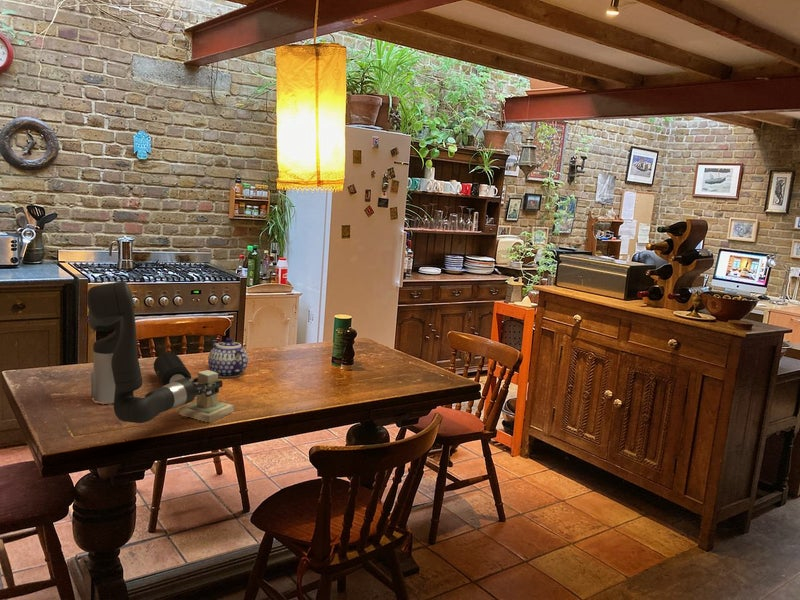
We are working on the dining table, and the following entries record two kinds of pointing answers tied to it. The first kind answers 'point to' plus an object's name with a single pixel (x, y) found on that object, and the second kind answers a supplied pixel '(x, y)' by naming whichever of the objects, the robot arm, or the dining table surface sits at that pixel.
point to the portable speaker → (170, 368)
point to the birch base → (206, 411)
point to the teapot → (227, 358)
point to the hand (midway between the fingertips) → (212, 381)
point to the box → (202, 399)
